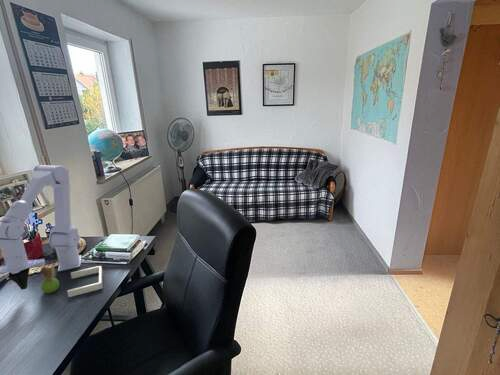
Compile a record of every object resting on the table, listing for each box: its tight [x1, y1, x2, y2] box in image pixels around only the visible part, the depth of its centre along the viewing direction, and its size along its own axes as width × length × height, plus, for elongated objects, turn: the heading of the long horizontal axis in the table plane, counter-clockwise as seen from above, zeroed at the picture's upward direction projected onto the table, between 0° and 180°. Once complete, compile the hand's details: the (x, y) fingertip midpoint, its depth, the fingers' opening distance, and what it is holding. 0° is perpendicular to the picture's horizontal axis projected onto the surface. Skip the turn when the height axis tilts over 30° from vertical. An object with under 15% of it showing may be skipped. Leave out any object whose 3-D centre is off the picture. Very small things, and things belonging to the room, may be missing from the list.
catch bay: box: [66, 265, 103, 298], centre depth 104 cm, size 13×11×2 cm
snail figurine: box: [40, 264, 60, 294], centre depth 98 cm, size 5×6×12 cm
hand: (24, 287), depth 95 cm, fingers closed
